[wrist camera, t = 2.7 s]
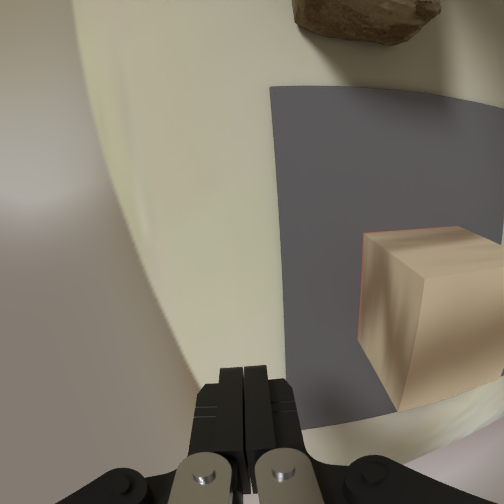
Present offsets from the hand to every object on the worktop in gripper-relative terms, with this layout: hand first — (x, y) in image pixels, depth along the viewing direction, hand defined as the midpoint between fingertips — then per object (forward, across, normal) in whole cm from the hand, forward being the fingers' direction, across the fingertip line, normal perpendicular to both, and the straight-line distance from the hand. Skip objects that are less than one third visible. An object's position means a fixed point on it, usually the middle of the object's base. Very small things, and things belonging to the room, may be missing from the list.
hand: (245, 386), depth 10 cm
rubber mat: (+6, -15, 0) cm, 16 cm away
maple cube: (+6, -9, 0) cm, 11 cm away
